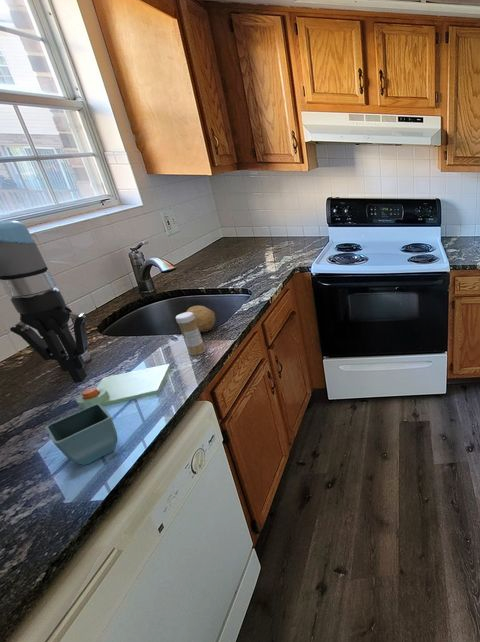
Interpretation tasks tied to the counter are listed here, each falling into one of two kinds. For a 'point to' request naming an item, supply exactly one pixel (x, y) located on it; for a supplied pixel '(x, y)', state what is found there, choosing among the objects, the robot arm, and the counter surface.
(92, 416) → the flower pot
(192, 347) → the sprinkles bottle
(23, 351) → the counter surface
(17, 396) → the counter surface
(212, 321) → the potato
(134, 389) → the scale
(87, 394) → the tare button
